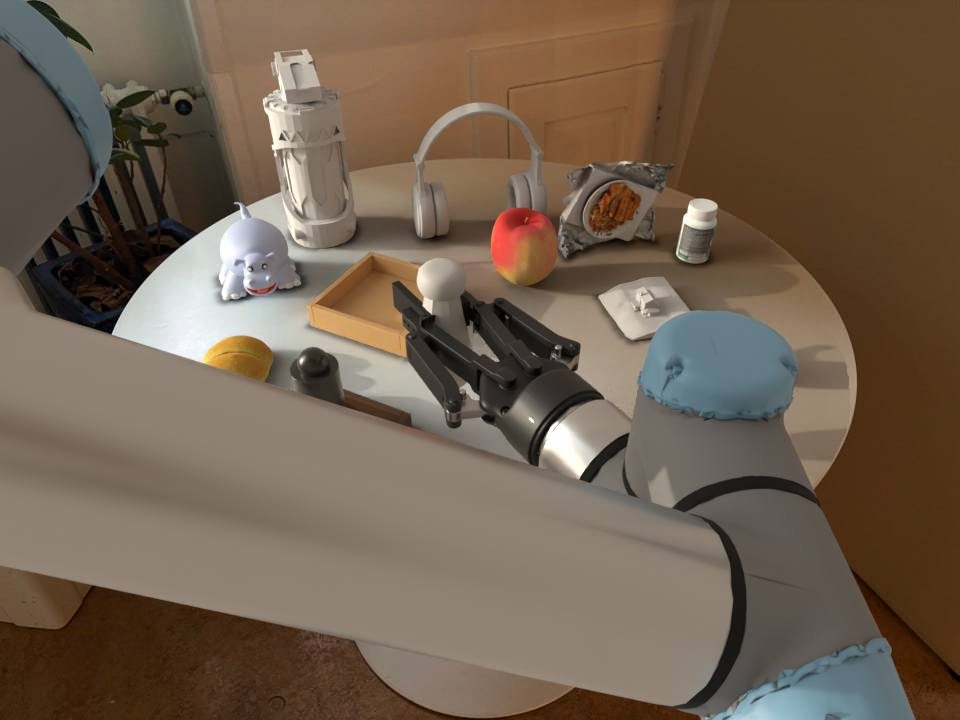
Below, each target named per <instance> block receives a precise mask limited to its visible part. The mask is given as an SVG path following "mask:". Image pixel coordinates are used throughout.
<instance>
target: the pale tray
mask: <svg viewBox="0 0 960 720" xmlns="http://www.w3.org/2000/svg"><path fill="white" fill-rule="evenodd" d="M421 266H422V265H420V264H416V263H413V262H409V261H406V260H402V259H399V258H395V257H392V256H388V255H385V254H381V253H377V252H375V251H369V252H368V253H366V254H365V255H364V256H363V257H362V258H361V259H359V260H358V261H357V262H356V263H354V265H352V266H351V267H350V268H349V269H347V270H346V271H345V272H344V273H343V274H342V275H340V277H338V278H337V279H335V281H333V282H332V283H331V284H330V285H329V286H328V287H327V288H325V289H324V290H323V291H322V292H320V293H319V294H318V295H317V296H316V297H315V298H314V299H313V300H311V301H310V302H309V303H308V304H307V305H306V309H307V313H308V314H307V315H308V319H309V323H310V324H309V325H310V327H314V328H316V329H320V330H321V331H325V332H328V333H331V334H334V335H337V336H340V337H343V338H346V339H349V340H352V341H355V342H358V343H361V344H364V345H367V346H370V347H373V348H376V349H379V350H381V351H385V352H387V353H391V354H393V355H397V356H399V357H403V358H406V359H407V350H406V335H407V334H408V333H410V332H409V331H408V330H407V329H406V328H405V327H404V326H403V323H402V314H401V313H400V312H399V311H398V310H397V309H396V308H395V307H394V301H393V290H392V283H393V282H396V281H400V282H401V283H402V284H403V285H404V286H405V287H406V288H408V289H409V290H410V291H411V292H412V293H413V294H414V295H415V296H416V297H417V298H418V299H419V300H420V301H421V302H422V303H423V300H424V296H423V295H422V294H421V292H420V290H419V289H418V286H417V275H418V271H419V268H420V267H421Z"/></svg>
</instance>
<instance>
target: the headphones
mask: <svg viewBox="0 0 960 720" xmlns="http://www.w3.org/2000/svg"><path fill="white" fill-rule="evenodd" d="M479 115H486V116H495V117H500V118H503V119H505V120H507V121H508V122H510V123H512V124H513V125H514V126H515V127H516V128H517V129H518V130H519V132H521V133H522V135H523V136H524V138H525V139H526V141H527V143H528V144H529V149H530V150H531V154H530V155H531V156H530V163H529V169H528V171H525V172H522V173H515V174H512V175H510V176H509V177H508V179H507V183H506V193H505V195H506V207H507V210H509V209H512V208H528V209H532V210H535V211H538V212H540V213H542V214H544V215H545V216H547V214H548V193H547V186H546V183H545V180H544V177H543V176H542V160H543V159H544V157H545V153H544V152H543V150H542V149H541V148H540V146H539V145H538V143H537V141H536V139H535V138H534V136H533V134H532V133H531V131H530V129H529V128H528V127H527V126H526V124H525V123H524V122H523V120H522V119H521V118H519V117H518V115H517V114H515V113H514V112H513V111H511V110H509V109H508V108H506V107H503V106H502V105H498V104H495V103H490V102H472V103H465V104H463V105H460V106H458V107H455V108H453V109H452V110H449V111H447V112H445V114H444V115H442V116H441V117H440V118H438V119H437V120H436V121H435V123H433V125H432V126H431V127H430V128H429V129H428V131H427V132H426V134H425V135H424V137H423V139H422V141H421V143H420V145H419V148H418V150H417V152H416V153H414V154H413V156H412V158H413V161H414V165H415V182H414V183H413V185H411V189H410V191H411V193H410V195H411V196H410V197H411V207H412V216H413V217H412V218H413V223H414V228H415V233H416V235H417V237H419V238H420V239H431V238H433V237H435V236H440V237H441V236H444V235H447V234H448V232H449V229H450V211H449V202H448V201H449V200H448V197H447V196H448V195H447V192H446V188H445V185H444V184H443V183H442V182H440V181H432V182H430V183H429V182H427V181H425V178H424V177H425V176H424V170H425V168H426V165H425V160H426V159H427V157H428V155H429V153H430V151H431V149H432V147H433V145H434V143H435V142H436V141H437V139H438V138H439V137H440V136H441V135H442V134H443V133H444V132H445V131H446V130H447V129H448V128H450V127H451V126H453V125H454V124H456V123H457V122H460V121H461V120H463V119H466V118H471V117H476V116H479Z"/></svg>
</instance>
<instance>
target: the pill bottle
mask: <svg viewBox="0 0 960 720" xmlns="http://www.w3.org/2000/svg"><path fill="white" fill-rule="evenodd" d="M718 209H719V205H718V204H717V202H715V201H714V200H711V199H707V198H694V199H691V200H690V201H689V203H688V206H687V211H686V213H685V214H683V218H682V222H681V227H680V232H679V235H678V241H677V245H676V248H675V249H676V250H675V254H676V257H677V258H678V259H679V260H680V261H683V262H685V263H688V264H695V265H697V264H703V263H705V262H706V261H707V260H708V259H709V256H710V252H711V250H712V249H711V248H712V245H713V241H714V237H715V232H716V229H717V224H718V219H717V213H718Z"/></svg>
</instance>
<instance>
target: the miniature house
mask: <svg viewBox="0 0 960 720" xmlns="http://www.w3.org/2000/svg"><path fill="white" fill-rule="evenodd" d="M598 299H599V301H600V303H601V304H602V305H603V307H604V308H605V309H606V311H607V312H608V315H610V317H611V318H612V319H613V320H614V322H615V323H616V325H617V327H618V328H619V329H620V330H621V332H622V333H623V336H624V337H626V338H628V340H630V341H632V342H633V341H634V342H635V341H639V340H640V341H642V340H646V339H652V338H653V336H654V334H655V333H656V331H657V330H658V329H659V328H660V326H662V325H663V324H664V323H665V322H667V321H668V320H670V319H671V318H673V317H675V316H677V315H680V314H683V313H687V312H691V309H690V308H689V307H688V306H687V305H686V303H685V302H684V301H683V299H682V298H681V297H680V296H679V294H678V293H677V292H676V290H675V289H674V288H673V287H672V286H671V284H670V283H669V282H668V281H667V279H666V278H665V276H646V277H641V278H639V279H637V280H632V281H628V282H624V283H623V282H622V283H620V284H618V285H615V286H613V287H611V288H610V289H609V290H607V291H605V292H603V293H601V294H599V295H598Z"/></svg>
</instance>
